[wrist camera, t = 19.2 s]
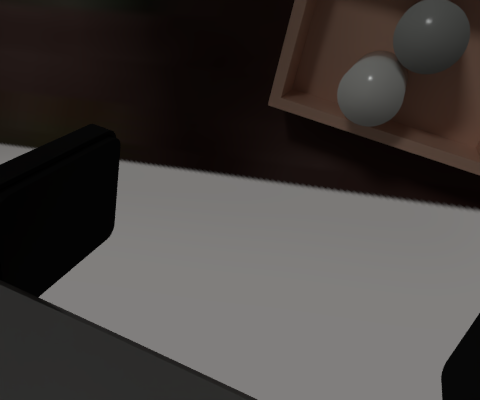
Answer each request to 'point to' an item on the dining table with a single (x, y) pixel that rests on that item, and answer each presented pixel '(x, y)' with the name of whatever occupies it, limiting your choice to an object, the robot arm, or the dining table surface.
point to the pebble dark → (431, 36)
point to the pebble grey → (373, 89)
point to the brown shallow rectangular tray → (418, 85)
